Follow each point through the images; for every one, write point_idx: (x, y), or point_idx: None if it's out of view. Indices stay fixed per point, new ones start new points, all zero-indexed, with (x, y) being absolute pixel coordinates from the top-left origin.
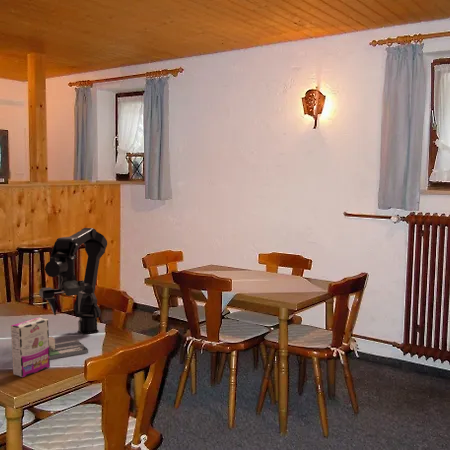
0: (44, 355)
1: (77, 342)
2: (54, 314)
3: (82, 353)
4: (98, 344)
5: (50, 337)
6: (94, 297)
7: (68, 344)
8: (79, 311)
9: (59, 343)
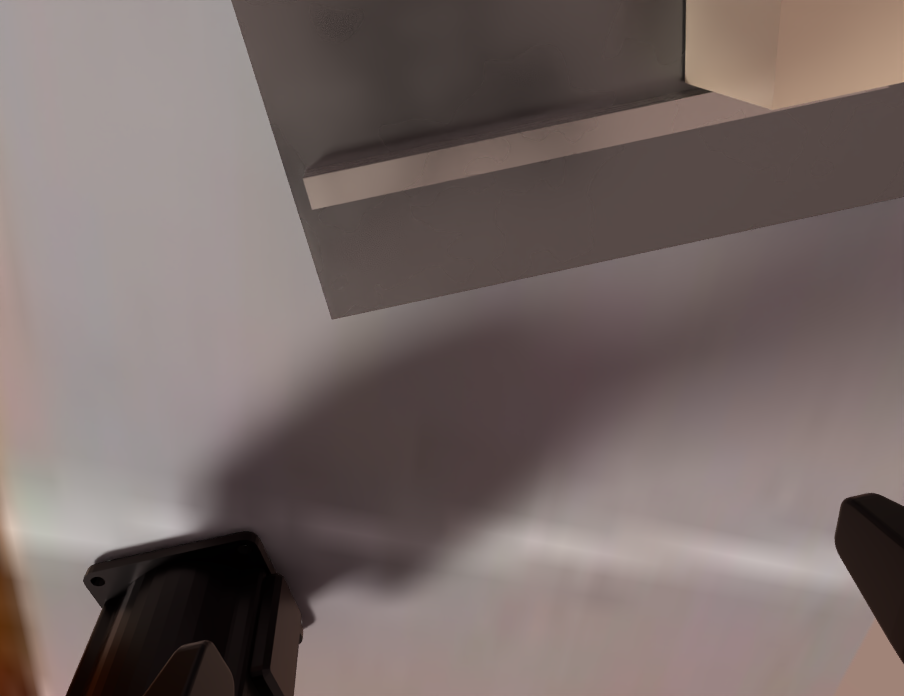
0: None
1: (326, 170)
2: (892, 505)
3: None
4: (29, 145)
5: (808, 62)
6: None
7: (455, 141)
8: (205, 646)
9: (582, 148)
